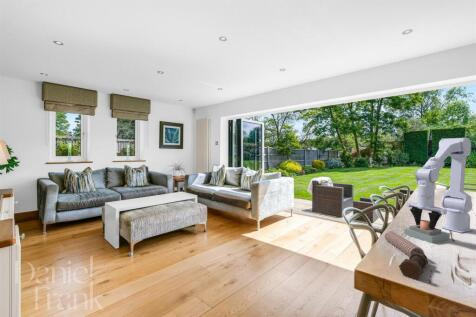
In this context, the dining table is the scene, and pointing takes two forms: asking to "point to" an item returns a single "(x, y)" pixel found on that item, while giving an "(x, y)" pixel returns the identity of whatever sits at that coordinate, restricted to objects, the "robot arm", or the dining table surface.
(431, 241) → the socket board
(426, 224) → the peg
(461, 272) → the dining table surface
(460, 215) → the robot arm
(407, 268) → the bolt
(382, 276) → the dining table surface
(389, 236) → the coil
